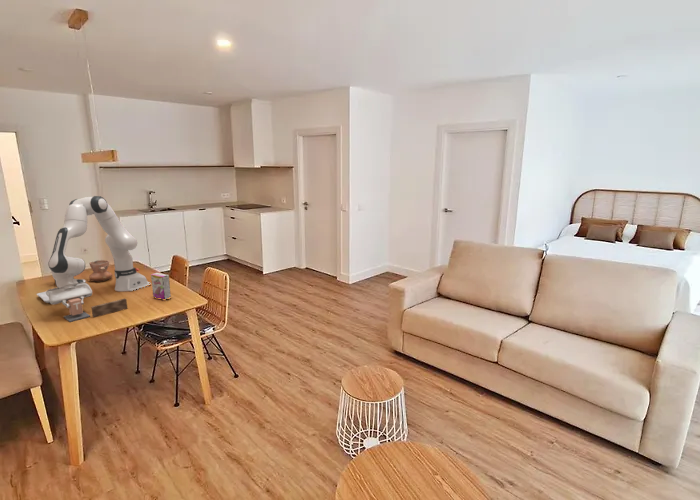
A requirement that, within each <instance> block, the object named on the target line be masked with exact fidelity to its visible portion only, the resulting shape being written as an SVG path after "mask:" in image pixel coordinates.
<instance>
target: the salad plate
mask: <svg viewBox="0 0 700 500" xmlns="http://www.w3.org/2000/svg"><path fill="white" fill-rule="evenodd" d="M36 296H37V297H38V298H41V300H43V302H44V303H47V304H50V301H49V296H47V294H46V291H43V292H38V293H36Z"/></svg>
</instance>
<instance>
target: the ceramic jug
mask: <svg viewBox="0 0 700 500" xmlns="http://www.w3.org/2000/svg"><path fill="white" fill-rule="evenodd" d="M109 265H110V261H109V260H105V259H101V260H99V259H98V260H93V261H90V262H89V266H90V269H91V270H92V271H93V272H92V273H91V274H90V275H89V277H88V279H89V280H90V281H91V282H95V283H96V282H97V283H98V282H99V283H100V282H102V283H103V282H106V281H108V280H111V279H112V278H113V273H111V272H110V271H108V268H109Z"/></svg>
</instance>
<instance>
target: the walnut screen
mask: <svg viewBox="0 0 700 500" xmlns="http://www.w3.org/2000/svg"><path fill="white" fill-rule="evenodd" d="M123 309H124V310H127V309H128V303H127V299H126V298H121V299H117V300H113V301H110V302H105V303H101V304H98V305H94V306H91V314H92V315H91V316H92V317H93V318H98V317H101V316H105V315H108V314H112V313H115V312H116V313H117V312H119V311H124V310H123Z"/></svg>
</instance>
